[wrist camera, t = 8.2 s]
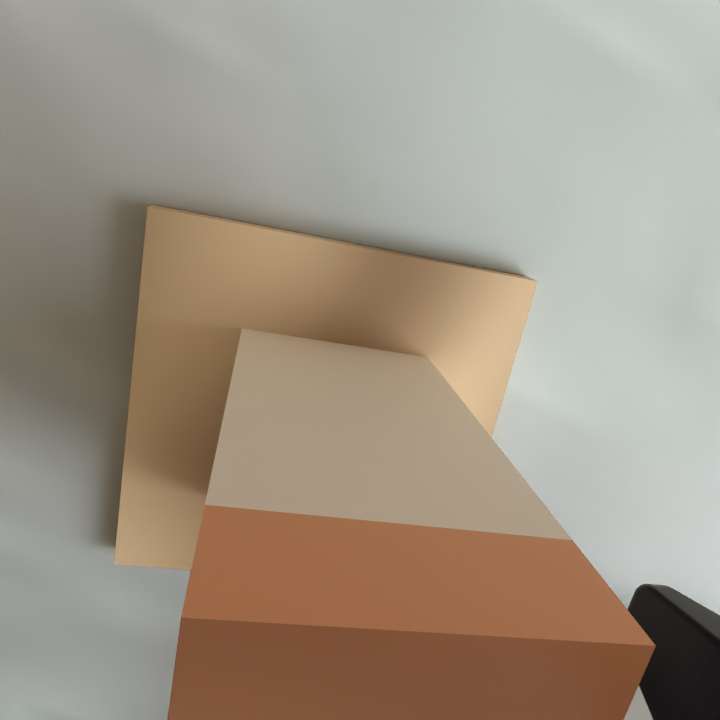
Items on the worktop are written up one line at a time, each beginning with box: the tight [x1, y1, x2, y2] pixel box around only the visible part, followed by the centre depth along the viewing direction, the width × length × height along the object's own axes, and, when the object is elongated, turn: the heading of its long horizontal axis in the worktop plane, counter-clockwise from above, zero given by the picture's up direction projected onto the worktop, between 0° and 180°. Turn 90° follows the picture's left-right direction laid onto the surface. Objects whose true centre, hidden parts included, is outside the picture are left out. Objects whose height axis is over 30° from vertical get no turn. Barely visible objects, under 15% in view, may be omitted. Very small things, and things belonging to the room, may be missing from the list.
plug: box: [168, 328, 656, 720], centre depth 9 cm, size 4×4×8 cm
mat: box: [114, 205, 538, 570], centre depth 13 cm, size 8×8×1 cm
